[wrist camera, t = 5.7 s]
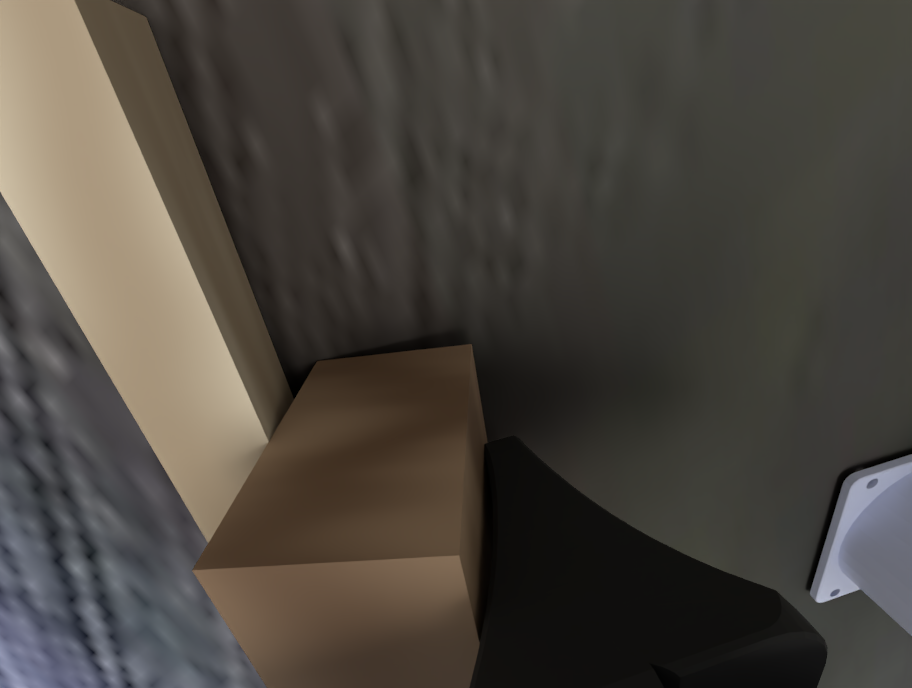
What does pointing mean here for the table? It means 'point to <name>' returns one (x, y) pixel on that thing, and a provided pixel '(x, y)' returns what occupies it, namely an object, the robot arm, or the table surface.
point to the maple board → (137, 240)
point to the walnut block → (363, 529)
